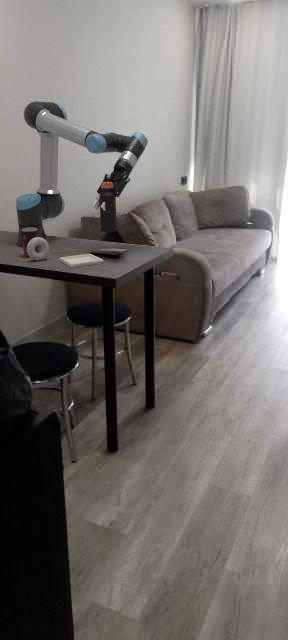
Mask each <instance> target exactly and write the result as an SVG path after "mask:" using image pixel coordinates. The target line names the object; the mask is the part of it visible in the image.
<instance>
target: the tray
mask: <svg viewBox="0 0 288 640" xmlns="http://www.w3.org/2000/svg"><path fill="white" fill-rule="evenodd" d="M59 262H61V263H63V264H64V265H66V266H67V267H69V268H71V269H75V268H81V267H88V266H94V265H103V264H104V259H102V258H100V257H98V256H95V255H94V254H91V253H85V254H76V255H70V256H69V255H68V256H64V257H63V256H62V257H59Z"/></svg>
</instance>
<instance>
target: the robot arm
mask: <svg viewBox="0 0 288 640" xmlns="http://www.w3.org/2000/svg"><path fill="white" fill-rule="evenodd" d="M23 119H24V122H25V123H26V125H27V126H28V127H30V128H31V129H34V130H36V133H37V134H38V135H39V137H40V140H39V145H40V146H39V148H40V149H39V187H38V188H37V189H36V193H27V194H21V195H20V196H18V197H16V200H15V202H16V203H15V204H16V205H15V207H16V214H17V216H16V217H17V223H18V230H17V236H16V240H15V241H16V246H17V247H23V240H22V230H23V229H24V228H27V227H34V228H36V229H38V236H39V237H41V238H44V239H45V240H46V241H47V243H48V244H49V238H48V236H47V234H46V230H45V229H44V224H43V221H45V220H48V219H55V218H57V217H59V216H61V215H62V214H63V212H64V210H65V200H64V199H63V196H62V195H61V191H60V190H59V188H58V178H59V177H58V176H59V175H58V174H59V173H58V171H59V169H58V168H59V138H62V139H64V140H67V141H69V142H72V143H74V144H76V145H78V146H80V147H84V148H85V149H87V151H88V152H89V153H92V154H104V153H105V154H106V153H118V154H120V155H119V156H118V159H117V160H116V162H115V164H114V166H113V171H112V172H111V173H110V174H108V173H105V174H104V177H103V180H102V181H101V183H102V182H113V189H112V192H111V193H113V194H114V196H115V197H116V198H119V197H120V196H121V194H122V193H123V191H124V189H125V188H126V186H127V185H128V184H129V183H130V182H131V178H130V175H131V174H132V171H133V170H134V168H135V166H136V165H137V163H138V161H139V159H140V157H141V156H142V154H143V153H144V151H145V150H146V147H147V146H148V143H149V141H148V138H147V137H146V135H145V134H143V133H142V132H139V131H136V132H134V133H133V134H131V136H129V135H123V134H120V133H116V132H109V131H108V132H106V133H100V132H97V131H94V130H92V129H90V128H87V127H85V126H83V125H80V124H77V123H74V122H72V121H70V120H68V115H67V111H66V109H65V108H64V107H63V105H61V104H60V103H58V102H52V101H37V100H36V101H32V102H29V103H28V104H27V105H26V106H25V108H24V109H23ZM101 192H102V188H101V184H100V185H99V186H98V189H97V190H96V193H97V194H98V196H97V197H96V198H95V201H94V203H93V205H92V207H93V208H94V209H95V210H96V211H98V210H100V201H99V195H100V194H101ZM101 208H102V209H103V210H104V211H105V202H103V204H102V205H101ZM39 247H41V246H40V245H39Z"/></svg>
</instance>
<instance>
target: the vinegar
mask: <svg viewBox="0 0 288 640" xmlns="http://www.w3.org/2000/svg"><path fill="white" fill-rule="evenodd" d="M100 185H101V188H102V192H101V194H100V195H99V194H98V195H99V201H100V207H99V215H100V216H99V217H100V221H99V222H100V231H101V232H103V233H113V232H116V231H117V229H118V227H117V224H118V223H117V201H116V200H117V199H116V198H117V197H115V196H114V194H113V193H111V192H112V189H113V182H102V181H101V182H100ZM103 202H105V211H104V210H103V209H102V208H101V205H102V204H103Z"/></svg>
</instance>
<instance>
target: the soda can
mask: <svg viewBox="0 0 288 640" xmlns="http://www.w3.org/2000/svg"><path fill="white" fill-rule="evenodd" d="M35 237H39V236H38V229H36V228H34V227H27V228H24V229H23V230H22V240H23V246H22V247H23V254H24V256H25V257H26V258H30V257H29V255H28V253H27V245H28V243H29V242H30V240H31V239H33V238H35ZM35 251H36V252H37V253H39V252H40V251H41V246H39V245H37V246H36V247H35Z"/></svg>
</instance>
